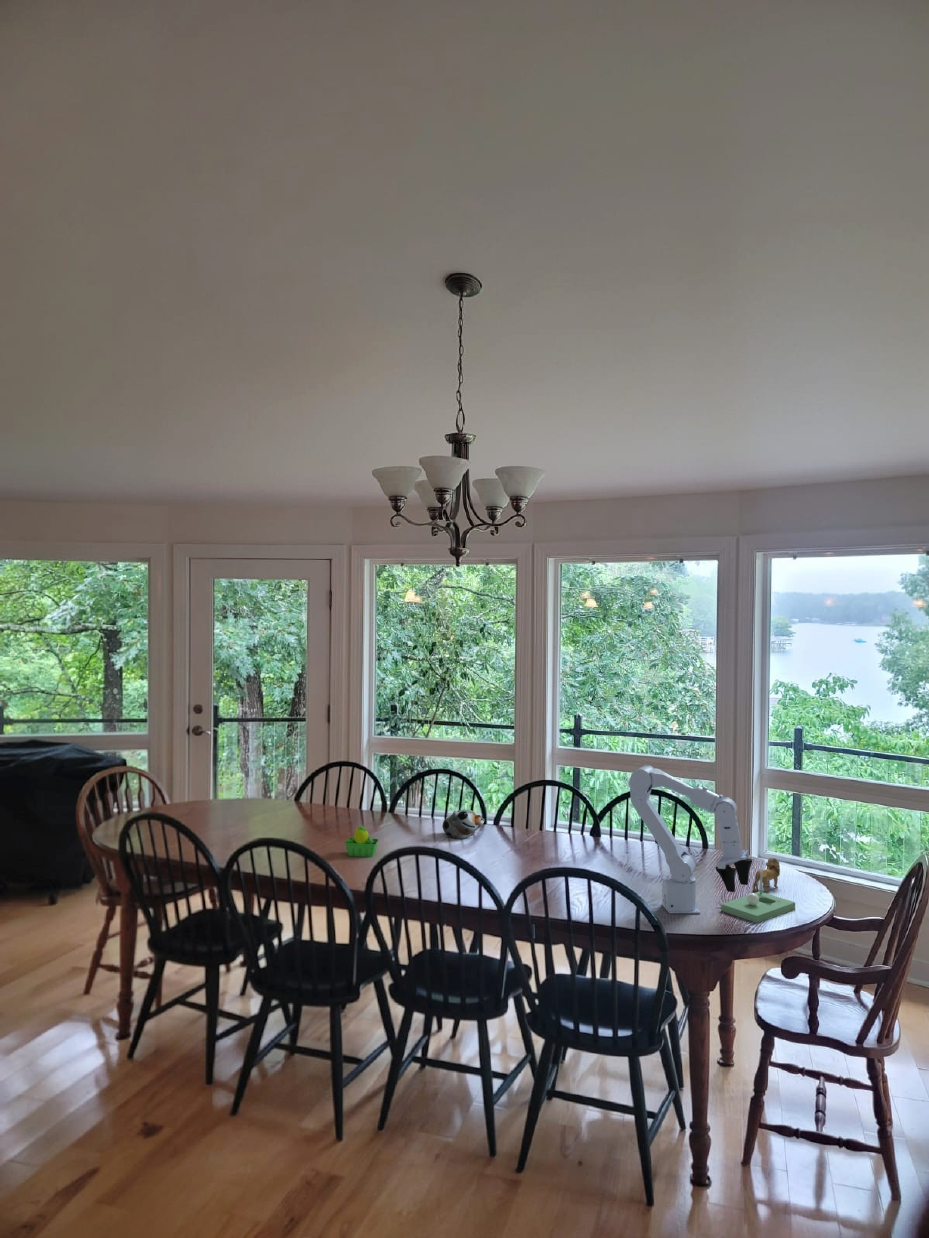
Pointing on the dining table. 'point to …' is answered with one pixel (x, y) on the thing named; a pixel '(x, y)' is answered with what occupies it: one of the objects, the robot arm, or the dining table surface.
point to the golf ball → (752, 899)
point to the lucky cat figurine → (462, 824)
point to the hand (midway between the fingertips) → (737, 887)
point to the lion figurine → (768, 874)
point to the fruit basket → (361, 844)
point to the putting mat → (758, 905)
